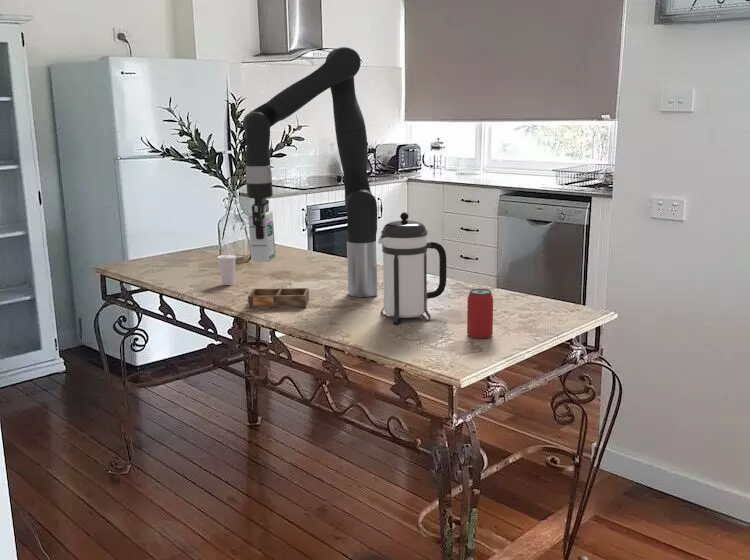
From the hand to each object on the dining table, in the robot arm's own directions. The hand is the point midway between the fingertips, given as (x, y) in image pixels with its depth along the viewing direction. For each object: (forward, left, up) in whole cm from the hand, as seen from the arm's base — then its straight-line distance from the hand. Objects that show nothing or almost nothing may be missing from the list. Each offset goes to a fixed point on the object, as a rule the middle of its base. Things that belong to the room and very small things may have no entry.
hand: (262, 236), depth 228 cm
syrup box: (0, 0, -7) cm, 7 cm away
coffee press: (-43, +17, -21) cm, 51 cm away
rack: (-4, +2, -21) cm, 21 cm away
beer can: (-61, +35, -21) cm, 74 cm away
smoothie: (+17, -24, -21) cm, 36 cm away
